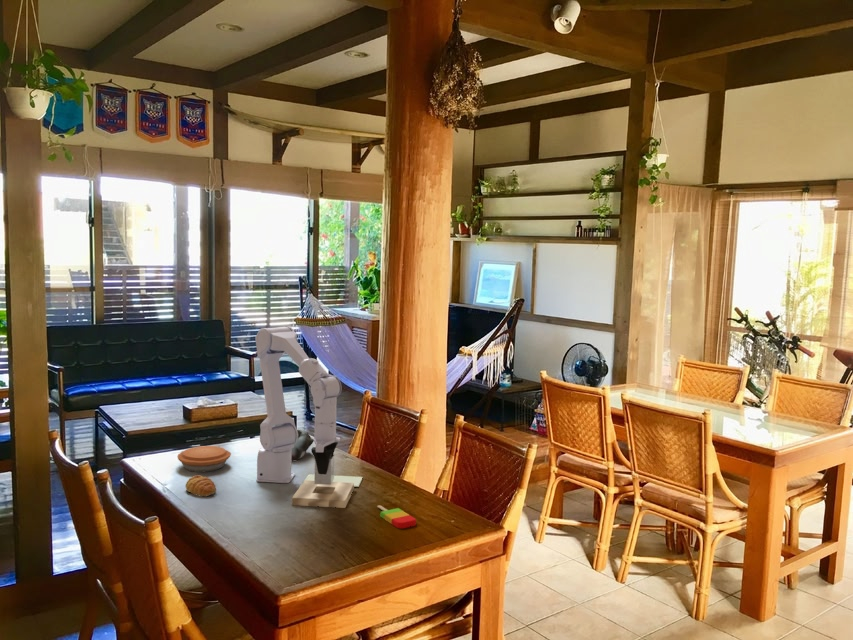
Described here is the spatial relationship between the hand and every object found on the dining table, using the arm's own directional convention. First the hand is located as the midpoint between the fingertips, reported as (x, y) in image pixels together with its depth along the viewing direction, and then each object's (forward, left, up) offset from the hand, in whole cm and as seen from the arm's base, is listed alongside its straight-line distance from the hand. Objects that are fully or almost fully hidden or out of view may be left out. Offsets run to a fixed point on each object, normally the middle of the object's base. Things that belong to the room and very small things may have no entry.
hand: (324, 470), depth 192 cm
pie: (-41, +21, -8) cm, 47 cm away
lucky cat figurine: (-19, +36, -8) cm, 41 cm away
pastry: (-34, 0, -8) cm, 35 cm away
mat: (0, +13, -7) cm, 15 cm away
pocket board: (0, 0, -7) cm, 7 cm away
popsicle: (+20, -11, -8) cm, 24 cm away
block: (0, 0, -3) cm, 3 cm away
